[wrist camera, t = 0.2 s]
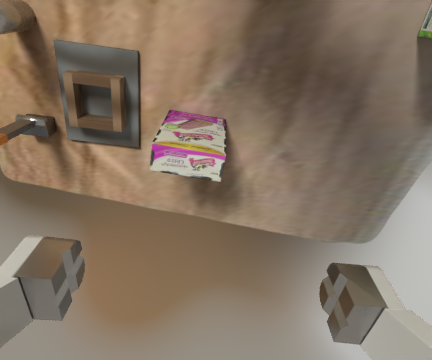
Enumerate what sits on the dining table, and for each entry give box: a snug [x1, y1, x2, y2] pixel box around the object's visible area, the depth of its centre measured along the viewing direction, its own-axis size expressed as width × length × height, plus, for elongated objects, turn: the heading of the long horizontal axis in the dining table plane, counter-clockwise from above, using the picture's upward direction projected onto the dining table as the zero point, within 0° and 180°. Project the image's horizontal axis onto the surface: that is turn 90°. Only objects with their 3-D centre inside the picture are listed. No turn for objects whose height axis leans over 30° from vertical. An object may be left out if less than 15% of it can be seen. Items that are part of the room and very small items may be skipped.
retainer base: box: [16, 114, 56, 137], centre depth 56 cm, size 4×5×4 cm
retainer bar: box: [0, 119, 36, 146], centre depth 49 cm, size 1×3×10 cm, turn 83°
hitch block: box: [53, 40, 140, 148], centre depth 53 cm, size 18×14×4 cm
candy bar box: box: [150, 110, 226, 182], centre depth 50 cm, size 11×5×16 cm, turn 80°
